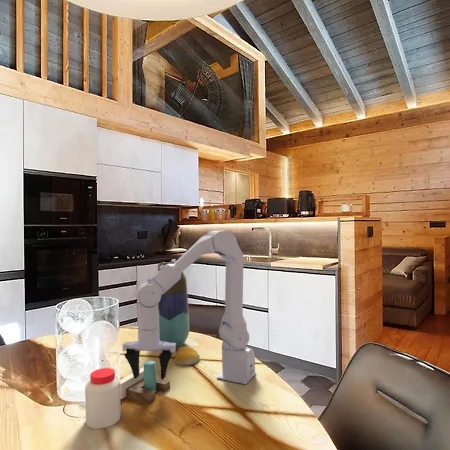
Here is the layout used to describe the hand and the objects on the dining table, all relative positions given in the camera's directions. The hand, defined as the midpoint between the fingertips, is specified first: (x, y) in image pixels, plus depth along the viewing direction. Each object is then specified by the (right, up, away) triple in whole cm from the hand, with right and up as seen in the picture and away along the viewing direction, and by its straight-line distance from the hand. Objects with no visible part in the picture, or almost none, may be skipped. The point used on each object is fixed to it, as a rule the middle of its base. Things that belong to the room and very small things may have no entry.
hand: (149, 377), depth 94 cm
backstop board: (-5, -4, +3) cm, 7 cm away
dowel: (0, -4, 0) cm, 4 cm away
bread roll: (+8, -5, +22) cm, 24 cm away
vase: (0, -5, +38) cm, 38 cm away
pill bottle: (-8, -5, -13) cm, 16 cm away
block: (0, -4, 0) cm, 4 cm away
